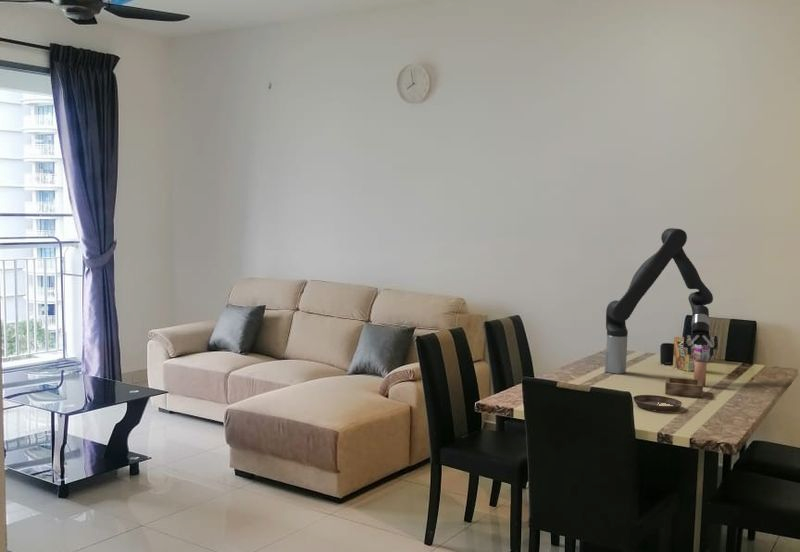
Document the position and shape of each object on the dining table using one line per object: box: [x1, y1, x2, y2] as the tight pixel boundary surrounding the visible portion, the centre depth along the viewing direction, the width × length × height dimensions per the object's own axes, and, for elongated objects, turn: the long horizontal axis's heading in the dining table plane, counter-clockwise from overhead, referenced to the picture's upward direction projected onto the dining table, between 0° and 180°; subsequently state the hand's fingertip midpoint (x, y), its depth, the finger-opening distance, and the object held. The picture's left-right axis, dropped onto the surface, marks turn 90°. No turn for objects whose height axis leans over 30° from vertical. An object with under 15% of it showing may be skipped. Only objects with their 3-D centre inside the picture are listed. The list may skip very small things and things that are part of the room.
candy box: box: [672, 336, 695, 372], centre depth 364 cm, size 9×4×15 cm, turn 33°
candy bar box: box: [694, 329, 712, 363], centre depth 391 cm, size 11×5×16 cm, turn 6°
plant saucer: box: [632, 394, 683, 412], centre depth 287 cm, size 18×18×3 cm
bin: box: [664, 376, 704, 399], centre depth 313 cm, size 14×14×5 cm
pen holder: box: [659, 342, 674, 366], centre depth 376 cm, size 9×9×10 cm
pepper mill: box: [693, 357, 708, 387], centre depth 328 cm, size 5×5×12 cm
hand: (700, 355), depth 334 cm, fingers open, 8 cm apart
